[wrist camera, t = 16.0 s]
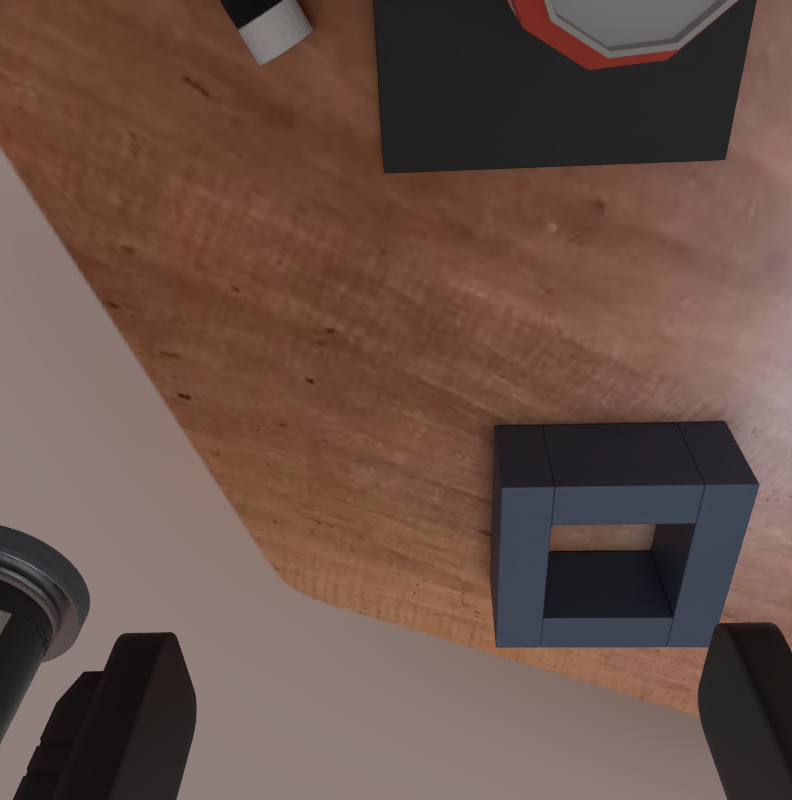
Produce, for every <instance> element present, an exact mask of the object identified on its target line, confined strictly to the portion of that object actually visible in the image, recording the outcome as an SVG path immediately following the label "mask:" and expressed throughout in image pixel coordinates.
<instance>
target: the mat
mask: <svg viewBox="0 0 792 800" xmlns="http://www.w3.org/2000/svg"><path fill="white" fill-rule="evenodd" d="M373 2H374V19H375V35H376V51H377V68H378V84H379V100H380V117H381V133H382V149H383V166H384V173H408V172H433V171H459V170H484V169H509V168H535V167H560V166H585V165H611V164H636V163H661V162H687V161H712V160H725V158H726V153H727V148H728V143H729V138H730V133H731V128H732V123H733V118H734V113H735V108H736V102H737V97H738V92H739V87H740V82H741V77H742V72H743V67H744V62H745V57H746V51H747V46H748V41H749V36H750V31H751V26H752V21H753V16H754V11H755V5H756V0H738V1H737V2H736V3H735V4H734V5H732V6H731V7H730V8H729V9H728V10H726V11H725V12H724V13H723V14H722V15H720V16H719V17H718V18H717V19H716V20H714V21H713V22H712V23H711V24H710V25H708V26H707V27H706V28H705V29H704V30H702V31H701V32H700V33H699V34H698V35H696V36H695V37H694V38H693V39H692V40H690V41H689V42H688V43H687V44H686V45H685V46H683V47H682V48H681V49H680V50H679V51H677V52H676V53H675V54H674V55H673V56H671V57H670V58H669V59H668V60H664V61H656V62H648V63H640V64H632V65H624V66H616V67H608V68H600V69H592V70H587V69H586V68H584V67H583V66H581V65H580V64H578V63H576V62H575V61H573V60H572V59H570V58H569V57H567V56H566V55H564V54H562V53H561V52H559V51H558V50H556V49H555V48H553V47H552V46H550V45H548V44H547V43H545V42H544V41H542V40H541V39H539V38H538V37H536V36H535V35H533V34H531V33H530V32H528V31H527V30H525V29H524V28H523V26H522V25H521V23H520V22H519V20H518V18H517V17H516V15H515V14H514V12H513V11H512V9H511V7H510V6H509V4H508V3H507V1H506V0H373Z"/></svg>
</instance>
